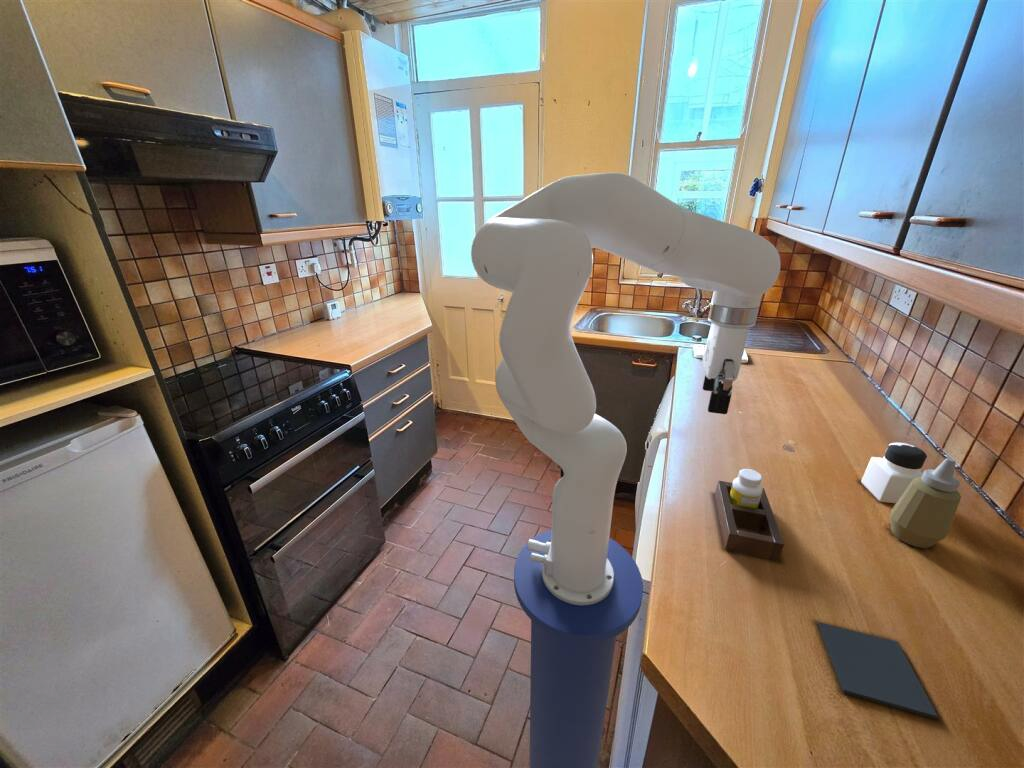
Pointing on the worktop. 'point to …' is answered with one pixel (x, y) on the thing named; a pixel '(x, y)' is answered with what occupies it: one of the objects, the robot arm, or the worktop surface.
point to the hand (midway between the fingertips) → (713, 401)
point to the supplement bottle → (746, 489)
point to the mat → (875, 670)
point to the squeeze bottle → (927, 507)
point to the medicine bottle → (893, 471)
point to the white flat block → (700, 351)
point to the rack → (748, 525)
